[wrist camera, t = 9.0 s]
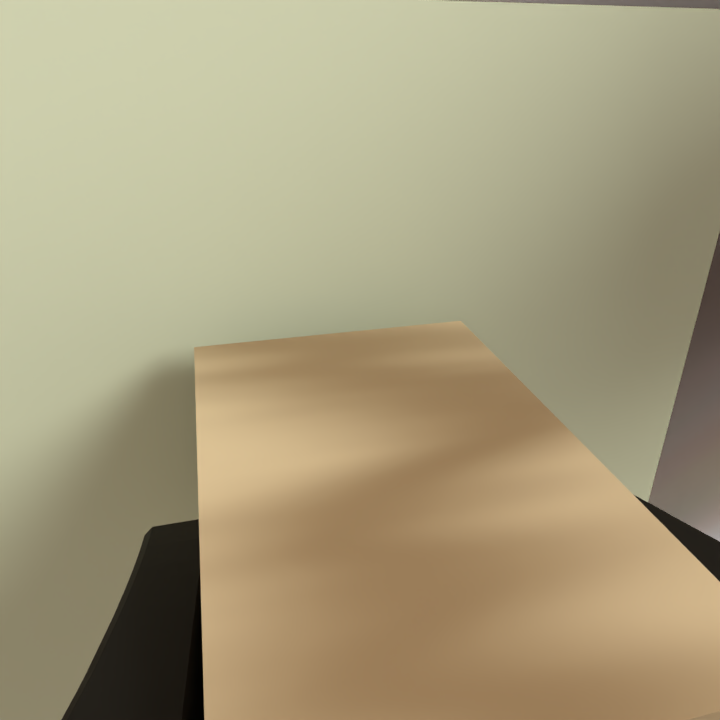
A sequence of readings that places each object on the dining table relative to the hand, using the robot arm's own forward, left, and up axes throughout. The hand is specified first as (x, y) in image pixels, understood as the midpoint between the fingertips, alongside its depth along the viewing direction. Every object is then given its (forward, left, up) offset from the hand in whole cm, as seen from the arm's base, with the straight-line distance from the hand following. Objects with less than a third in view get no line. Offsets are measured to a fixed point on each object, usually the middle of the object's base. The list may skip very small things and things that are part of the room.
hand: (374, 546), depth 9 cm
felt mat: (0, 0, -4) cm, 4 cm away
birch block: (0, 0, -3) cm, 3 cm away
